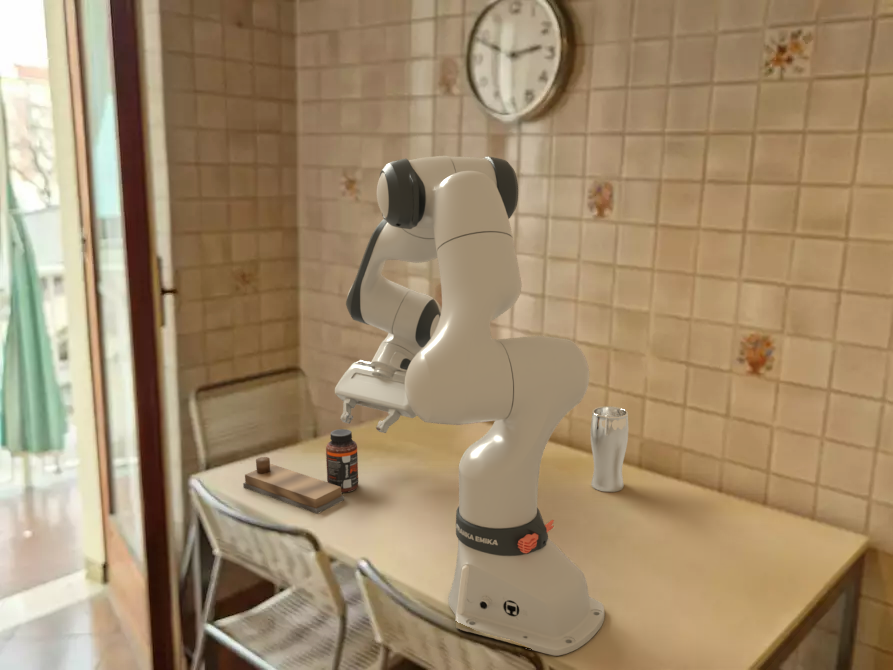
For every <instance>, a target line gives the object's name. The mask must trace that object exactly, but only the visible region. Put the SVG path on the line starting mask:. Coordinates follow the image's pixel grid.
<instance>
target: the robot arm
mask: <svg viewBox="0 0 893 670" xmlns="http://www.w3.org/2000/svg"><path fill="white" fill-rule="evenodd" d="M376 200H377V206H378V208H379V211H380V213H381V216H382V217H383V219H382V220H381V221H380V222H379V223H378V224H377V226H376V227H375V229H373V232H372V234H371V236H370V238H369V240H368V243H367V245H366V248H365V251H364V254H363V256H362V259H361V261H360V264H359V268H358V270H357V274H356V276H355V279H354V282H353V283H352V284H351V286H350V289H349V290H348V293H347V297H346V301H345V306H346V309H347V311H348V313H349V315H350V317H351V319H352V320H353V321H355V322H359V323H362V324H365V325H369V326H371V327H374V328H377V329H378V330H381V331H383V332H385V333H387V335H386V337H385V339H383V340H382V341H381V342H380V344H379V346H378V349H377V350H376V352H375V354H374V356H373V358H372V359H371V361H366V360H362V359H359V360H358V361H356V362H353V363H352V364H351V365H350V366H349V367H348V369H347V370H346V371H345V372H344V373H343V375H342V376H341V378H340V379H339V380H338V383H336V386H335V388H334V394H335V395H336V396H337V397H338V399H340V400H341V401H342V402H343V403H342V405H343V406H342V407H343V408H342V409H343V410H342V414H341V415H340V421H342V423H345V424H347V425H349V424H351V422H352V420H353V419H354V415H352V409H354V408H356V407H355V406H356V405H358V406H361V407H366V408H369V409H373V410H378V411H382V412H386V413H387V414H388V415H387V416H386V417H385V418H384V419H383V420H379V421H378V423H377V424H376V427H375V429H376V430H377V432H380V433H382V434H386V433H387V432H388V430H389V429H390V427H391V426H392V425H394V424H395V423H396V422H398V421H399V419H400V416H403V417H406V418H411V419H414V418H416V417H418V418H419V419H421V421H423V422H424V423H428V424H429V423H430V424H439V425H452V426H462V425H471V424H479V423H485V422H486V423H487V422H493V424H492V425H491V427H490V429H488V431H487V432H486V433H485V434H484V435H483V436H482V437H480V438H479V439H477V440H476V441H475V442H473V443H472V444H470V445H469V446H468V447H467V449H465V451H464V453H463V455H462V456H461V458H460V461H459V465H458V507H457V508H456V511H455V535H456V538H457V539H458V540H457V541H458V544H457V545H458V546H457V554H456V555H457V557H456V564H455V571H454V576H453V581H452V583H451V584H452V585H451V589H450V591H449V594H448V598H447V599H448V605H449V607H450V609H451V610H452V612H453V614H454V616H455V619H454V622H455V621H457V622H458V623H461V624H463V625H465V626H467V627H470V628H472V629H474V630H476V631H480V632H483V633H486V634H490V635H493V636H497V637H502V638H506V639H510V640H513V641H515V642H518V643H520V644H522V645H525V646H527V647H529V648H531V649H532V650H531V649H530V650H531V651H535V652H539V653H543V654H546V655H550V656H554V657H555V656H556V657H557V656H562V655H566V654H569V653H571V652H573V651H576V650H578V649H579V648H581V647H582V646H584V645H585V644H586V643H588V642H589V641H591V639H592V638H593V637H594V636H595V635H596V634H597V632H599V630H600V629H601V628H602V625H603V624H604V621H605V616H606V615H605V607H604V603H602V602H601V601H599V600H598V599H595V598H593V597H591V596H589V595H590V594H589V589H588V587H589V586H588V583H587V578H586V576H585V573H584V572H583V570H582V569H580V568H579V566H578V565H576V564H575V563H574V562H573V561H572V560H571V559H570V558H569V557H568V556H567V555H566V554H565V553H564V552H563V551H562V550H561V548H559V547H558V546H557V545H556V543H554V542H553V541H552V540H551V539H550V538H549V533H548V532H550V531H551V530H552V529H553V528H554V527H555V526H554V525H553V524H554V521H555V519H551V520H550V521H548V523H546V524H545V522H544V519H543V517H542V514H541V512H540V509H539V507H538V490H539V489H538V488H539V478H540V467H541V463H542V459H543V455H544V451H545V449H546V447H547V444H548V441H549V440H550V438H551V436H552V435H553V432H554V431H555V429H556V428H557V426H558V425H559V423H560V422H561V421H562V420H563V418H564V417H566V415H567V414H568V413H569V412H570V411H572V410H573V409H574V408H575V407H576V406H578V405H579V404H580V403H581V402H582V400H583V399H584V397H585V395H586V393H587V390H588V388H589V383H590V369H589V363H588V360H587V358H586V356H585V354H584V352H583V351H582V349H581V348H580V347H579V346H578V344H577V343H575V342H574V341H573V340H571V339H570V338H569V339H568V338H563V337H562V338H561V337H555V336H546V335H533V336H532V335H531V336H522V337H521V336H520V337H510V338H498V339H497V338H493V337H492V334H491V332H492V331H491V322H492V321H493V320H495V319H497V318H498V317H500V316H502V315H503V314H505V313H506V312H507V311H508V310H510V309H511V308H513V306H514V305H515V304H516V303H517V301H518V300H519V298H520V295H521V293H522V287H523V286H522V284H523V283H522V277H521V273H520V269H519V268H520V267H519V263H518V258H517V252H516V246H515V242H514V236H513V231H512V227H511V224H510V219H511V217H512V216H513V214H514V213H515V211H516V208H517V205H518V201H519V183H518V178H517V173H516V170H514V168H513V166H512V165H511V164H510V163H509V162H508V161H507V160H506V159H502V158H499V157H492V156H484V157H482V158H481V157H472V156H449V155H437V156H425V157H419V158H415V159H408V158H401V159H398V160H397V159H396V160H394V161H391V162H388V163H386V164H385V165H384V167H383V168H382V169H381V170H380V173H379V179H378V181H377V186H376ZM436 259H437V264H438V271H439V278H440V289H441V290H440V291H441V304H440V303H439V302H438V301H437V300H436V299H435V298H434V297H433V296H431V295H429V294H427V293H423V292H419V291H416V290H414V289H412V288H409V287H406V286H404V285H402V284H400V283H397V282H396V281H392V280H390V279H388V278H387V277H386V276H384V275H383V274H382V273H383V271H384V268H385V265H386V262H387V261H402V262H409V263H415V264H420V263H426V262H431V261H433V260H436Z"/></svg>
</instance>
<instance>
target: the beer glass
mask: <svg viewBox="0 0 893 670" xmlns="http://www.w3.org/2000/svg"><path fill="white" fill-rule="evenodd" d="M591 416H592V417H591V424H590V444H591V445H590V446H591V452H592V459H593V460H592V461H593V473H592V477H591V478H592V480H591V481H590V483H591V487H592V488H593V489H594V490H597V491H600V492H603V493H615V492H619V491H621V490H623V488H624V477H623V463H624V460H625V455H626V451H627V447H628V440H629V412H628V411H627V410H626V409H624V408H622V407H618V406H613V405H611V406H610V405H607V406H606V405H605V406H604V405H603V406H598V407H595V408H593V410H592V415H591Z"/></svg>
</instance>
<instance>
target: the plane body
mask: <svg viewBox="0 0 893 670" xmlns="http://www.w3.org/2000/svg"><path fill="white" fill-rule="evenodd" d="M255 463H256V466H255V467H256V470H255V469H254V470H253V471H250V472H248V473H246V474H244V482H243V483H242V485H243V488H244V489H248V490H251V491H253V492H256V493H259V494H262V495H265V496H267V497H269V498H272V499H276V500H278V501H281V502H284V503H286V504H289V505H291V506H295V507H297V508H299V509H300V508H301V509H303V510H306V511H308V512H311V513H314V514H319V513H321V512H324V511H325V510H327V509H329V508H331V507H333V506H335V505H337V504H339V503H341V502H343V501H344V500H345V496H344V495H342V493H341V487H340V486H337V485H334V484H331V483H328V482H327V481H325V480H321V479H318V478H315V477H312V476H309V475H306V474H303V473H300V472H297V471H294V470H291V469H287V468H284V467H282V466H280V465H277V464H276V465H275V464H272V463H271V459H270V458H269V457H268V456H261V457H257V458H256V459H255Z"/></svg>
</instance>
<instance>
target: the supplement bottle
mask: <svg viewBox="0 0 893 670" xmlns="http://www.w3.org/2000/svg"><path fill="white" fill-rule="evenodd" d="M325 452H326V453H325V456H326V457H325V459H326V479H327V481H326V482H328V483H331V484H334V485H337V486H340V487H341V494H342V493H343V494H344V493H345V494H346V493H351V492H353V491H355V490H356V489H357V488H358V487H359V463H358V462H359V459H358V444H357V442H356V441H355V440H353V435H352V431H351V430H350V429H347V428H346V429H344V428H339V429H335V430H332V431H331V432H330V441H329V442H327V444H326V446H325Z"/></svg>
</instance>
